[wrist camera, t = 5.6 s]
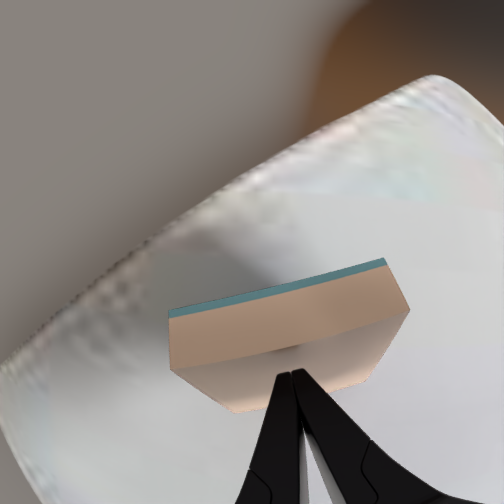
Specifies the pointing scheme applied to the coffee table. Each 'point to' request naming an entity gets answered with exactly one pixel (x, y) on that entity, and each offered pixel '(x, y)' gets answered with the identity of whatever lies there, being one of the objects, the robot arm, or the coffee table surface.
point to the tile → (288, 334)
